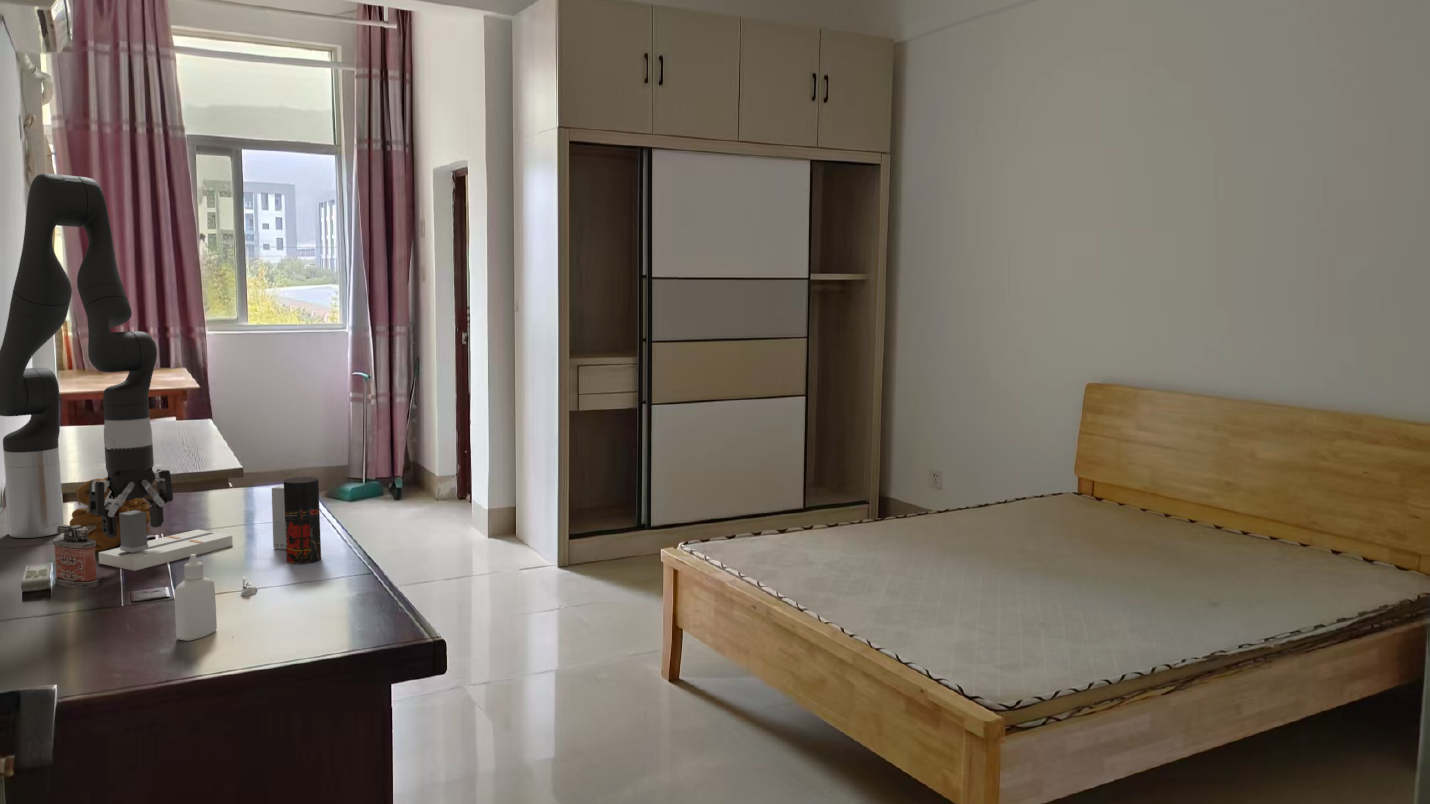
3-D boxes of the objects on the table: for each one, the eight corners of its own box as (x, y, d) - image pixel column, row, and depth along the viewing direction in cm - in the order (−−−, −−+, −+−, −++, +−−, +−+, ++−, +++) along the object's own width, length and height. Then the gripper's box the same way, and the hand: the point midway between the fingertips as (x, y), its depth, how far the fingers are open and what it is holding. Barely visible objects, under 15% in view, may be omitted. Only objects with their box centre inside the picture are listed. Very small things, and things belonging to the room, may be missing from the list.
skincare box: (292, 550, 197) (290, 488, 195) (272, 549, 198) (270, 487, 196) (311, 542, 203) (309, 482, 201) (291, 541, 204) (289, 481, 202)
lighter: (103, 583, 175) (100, 525, 173) (85, 588, 171) (82, 530, 170) (68, 578, 177) (64, 521, 176) (50, 583, 174) (46, 525, 173)
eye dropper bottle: (172, 635, 150) (168, 554, 148) (213, 627, 153) (210, 548, 152) (179, 643, 146) (175, 561, 145) (221, 635, 150) (218, 554, 149)
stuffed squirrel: (79, 541, 202) (75, 475, 201) (160, 536, 207) (156, 471, 205) (65, 554, 193) (60, 484, 191) (149, 548, 197) (146, 481, 196)
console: (99, 563, 187) (98, 551, 186) (198, 539, 204) (197, 528, 204) (134, 570, 182) (133, 559, 182) (232, 545, 200) (232, 534, 200)
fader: (120, 550, 187) (118, 513, 186) (136, 546, 189) (133, 510, 188) (132, 552, 185) (130, 515, 184) (148, 548, 188) (146, 512, 187)
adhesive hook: (240, 594, 171) (240, 575, 170) (257, 592, 172) (257, 574, 172) (240, 599, 168) (239, 580, 168) (257, 597, 169) (257, 579, 169)
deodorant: (280, 559, 190) (277, 479, 188) (312, 553, 194) (309, 475, 193) (295, 566, 186) (292, 484, 184) (327, 559, 190) (324, 479, 189)
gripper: (152, 436, 193) (157, 521, 195) (76, 447, 180) (82, 538, 182) (178, 439, 189) (183, 526, 191) (102, 450, 177) (108, 543, 179)
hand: (134, 531), depth 187 cm, fingers open, 8 cm apart
